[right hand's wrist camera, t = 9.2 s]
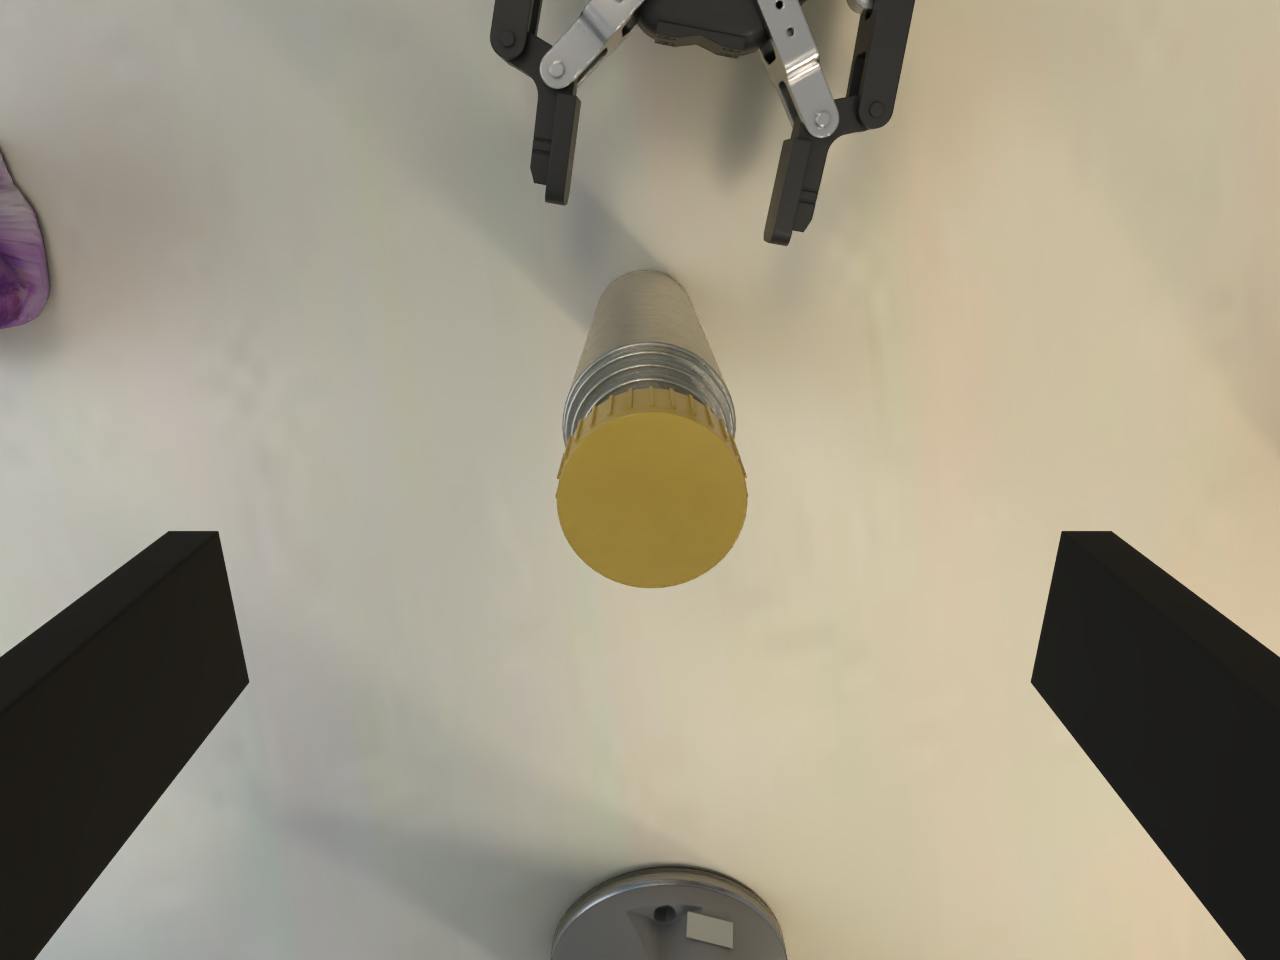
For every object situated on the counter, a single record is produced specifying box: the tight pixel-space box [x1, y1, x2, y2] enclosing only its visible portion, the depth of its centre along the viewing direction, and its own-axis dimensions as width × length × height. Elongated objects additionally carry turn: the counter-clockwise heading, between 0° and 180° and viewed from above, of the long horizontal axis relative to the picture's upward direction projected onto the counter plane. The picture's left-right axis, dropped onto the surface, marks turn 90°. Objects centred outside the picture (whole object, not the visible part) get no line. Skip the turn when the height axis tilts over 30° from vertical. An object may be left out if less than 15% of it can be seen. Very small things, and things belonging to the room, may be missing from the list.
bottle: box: [563, 270, 736, 446], centre depth 27 cm, size 5×5×22 cm
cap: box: [556, 386, 748, 588], centre depth 17 cm, size 4×4×2 cm
